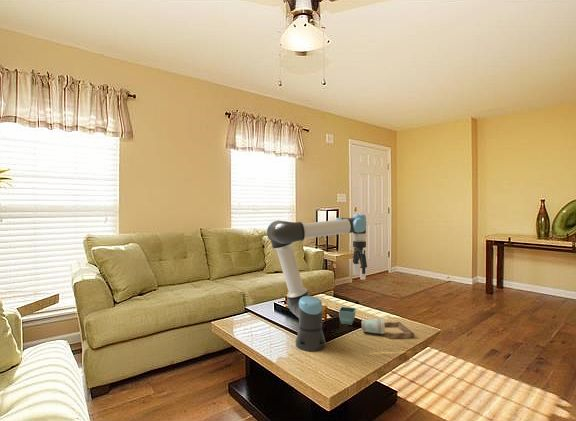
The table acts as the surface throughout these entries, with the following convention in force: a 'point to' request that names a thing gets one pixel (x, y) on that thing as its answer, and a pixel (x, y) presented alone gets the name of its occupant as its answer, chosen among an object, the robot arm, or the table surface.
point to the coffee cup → (373, 326)
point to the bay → (405, 334)
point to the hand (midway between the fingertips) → (359, 277)
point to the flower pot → (347, 315)
